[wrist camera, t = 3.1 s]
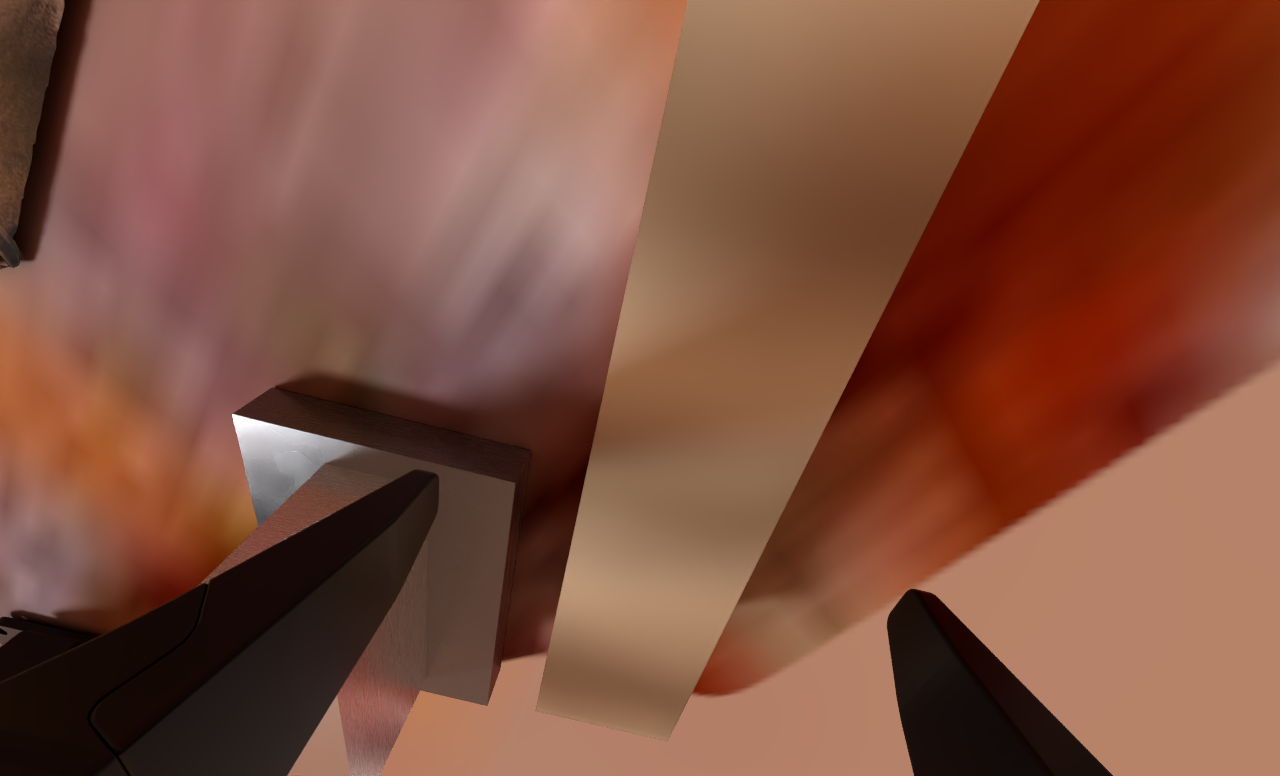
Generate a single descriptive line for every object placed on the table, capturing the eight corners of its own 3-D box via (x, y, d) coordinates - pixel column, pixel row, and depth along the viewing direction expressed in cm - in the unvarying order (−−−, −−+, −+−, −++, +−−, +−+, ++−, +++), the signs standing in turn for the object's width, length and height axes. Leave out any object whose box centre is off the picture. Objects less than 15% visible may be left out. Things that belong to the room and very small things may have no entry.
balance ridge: (500, 669, 21) (435, 851, 16) (314, 625, 21) (189, 795, 16) (531, 450, 15) (444, 629, 10) (272, 387, 15) (48, 536, 10)
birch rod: (674, 608, 19) (667, 741, 15) (569, 583, 19) (535, 711, 15) (907, 32, 10) (1048, -17, 6) (706, -21, 10) (710, -106, 6)
